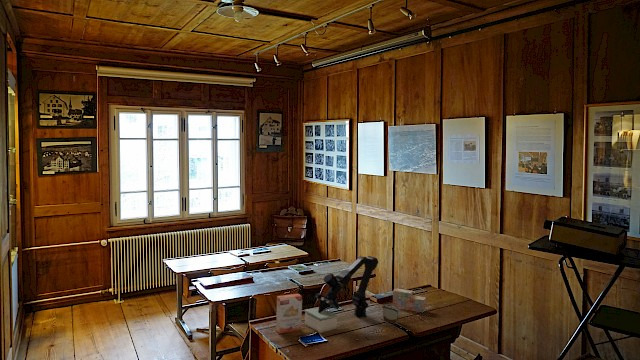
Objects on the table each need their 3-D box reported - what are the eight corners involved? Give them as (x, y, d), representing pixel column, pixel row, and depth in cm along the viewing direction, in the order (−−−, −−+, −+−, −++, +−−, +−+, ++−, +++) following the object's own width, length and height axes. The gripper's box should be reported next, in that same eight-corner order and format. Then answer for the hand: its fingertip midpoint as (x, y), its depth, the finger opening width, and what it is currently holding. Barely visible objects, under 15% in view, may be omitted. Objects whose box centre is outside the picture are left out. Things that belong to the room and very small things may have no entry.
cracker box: (279, 334, 262) (280, 298, 261) (275, 330, 268) (276, 295, 266) (301, 330, 268) (302, 295, 267) (297, 327, 274) (298, 292, 273)
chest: (320, 320, 286) (320, 309, 285) (336, 328, 273) (336, 317, 272) (304, 324, 279) (305, 312, 278) (320, 332, 266) (320, 321, 265)
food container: (403, 323, 283) (404, 307, 283) (398, 325, 279) (398, 309, 278) (387, 317, 292) (387, 302, 291) (381, 320, 287) (381, 304, 287)
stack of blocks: (425, 311, 306) (426, 293, 305) (423, 314, 300) (423, 295, 300) (395, 305, 316) (396, 287, 316) (392, 307, 311) (392, 290, 310)
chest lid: (320, 308, 285) (320, 307, 285) (336, 317, 272) (337, 315, 272) (304, 311, 278) (304, 309, 278) (320, 319, 265) (320, 318, 265)
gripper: (350, 303, 276) (335, 324, 270) (331, 295, 291) (317, 315, 285) (340, 292, 271) (325, 314, 265) (322, 284, 286) (307, 305, 280)
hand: (318, 312), depth 274 cm, fingers closed, pressing on chest lid
